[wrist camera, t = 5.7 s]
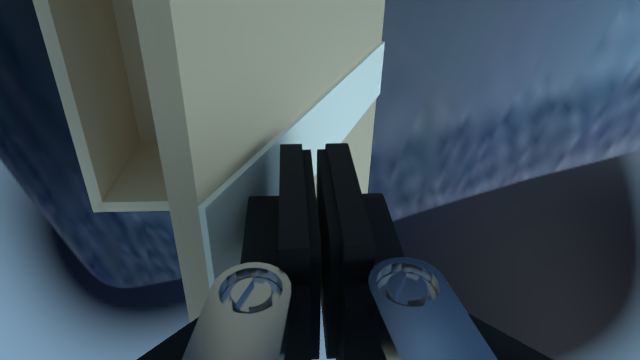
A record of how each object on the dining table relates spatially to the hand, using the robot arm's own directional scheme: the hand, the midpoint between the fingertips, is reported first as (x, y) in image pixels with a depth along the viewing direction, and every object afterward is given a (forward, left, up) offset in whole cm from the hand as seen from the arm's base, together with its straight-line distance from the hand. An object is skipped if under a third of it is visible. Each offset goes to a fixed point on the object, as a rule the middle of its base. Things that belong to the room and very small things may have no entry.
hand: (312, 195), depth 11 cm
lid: (0, 0, -4) cm, 4 cm away
